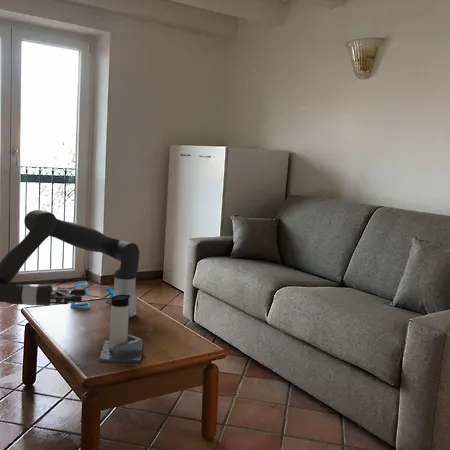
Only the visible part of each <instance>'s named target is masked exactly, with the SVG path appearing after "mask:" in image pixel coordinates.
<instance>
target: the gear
mask: <svg viewBox="0 0 450 450" xmlns="http://www.w3.org/2000/svg"><path fill="white" fill-rule="evenodd" d="M105 290H106V292H107V294H108V295H110V296H109V297H108V298H107V299H106V300H105V303H108V302H110V301H111V300H112V297H113V296H114V288H113V289H112V288H111V287H110V286H107V287H106V289H105Z"/></svg>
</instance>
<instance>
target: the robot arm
mask: <svg viewBox="0 0 450 450" xmlns="http://www.w3.org/2000/svg"><path fill="white" fill-rule="evenodd" d="M23 223H24V227H25V228H26V229H27V230H28V231H29V232H28V233H27V234H26V236H25V237H24V238H23V239H22V240H21V241H20V242H19V243H18V244H17V245H15V246H14V247H13V248H12V249H11V250H9V251H8V253H6V254H5V256H4V257H3V258H2V259H1V261H0V303H6V304H9V305H24V306H25V305H26V306H48V307H49V306H51V305H68V304H71V302H75V303H82V301H83V298H82V297H84V296H86V295H85V289H84V288H83V289H81V288H80V289H78V288H76V289H74V287H73V286H72V287H71V286H61V287H60V286H58V287H56V288H57V289H53V286H52V285H51V284H41V283H40V284H37V283H36V284H35V283H34V284H32V283H30V284H11V282H12V280H13V279H14V278H15V277H16V275H17V274H18V272H20V269H22V267H23V266H24V264H25V263H26V261H28V259H29V258H30V257H31V256H32V254H34V252H35V251H36V250H38V248H39V247H40V246H41V245H42V244H43V242H45V240H46V239H48V238H49V237H52V238H54V239H57V240H60V241H62V242H64V243H66V244H69V245H71V246H74V247H76V248H79V249H82V250H85V251H89V252H92V253H93V252H94V253H95V252H96V253H102V254H104V255H106V256H109V257H111V258H113V259H115V260H117V261H119V262H120V267H119V269H115V271H114V278H113V279H114V281H113V282H114V283H113V284H114V285H113V290H114V291H113V292H114V296H116V295H130V297H129V315H128V319H130V318H132V317H134V316H137V299H138V298H137V297H138V295H137V293H136V282H137V281H136V280H137V279H136V278H137V273H138V270H139V262H140V249H139V246H138V245H137V243H135V242H133V241H132V242H131V241H128V240H124V239H117V238H113V237H110V236H107V235H106V234H104V233H102V232H100V231H99V230H97V229H94V228H92V227H90V226H87V225H84V224H79V223H75V222H71V221H66V220H61V219H59V218H57V217H56V216H55V214H54V213H52V212H50V211H46V210H42V209H36V210H35V209H34V210H31V211H28V213H27V214H26V215H25V217H24V221H23ZM74 295H75V296H74Z"/></svg>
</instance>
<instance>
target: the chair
mask: <svg viewBox="0 0 450 450" xmlns="http://www.w3.org/2000/svg"><path fill="white" fill-rule="evenodd" d="M72 284H73V286H72V287H74V289H78V288H79V287H82V288H84V290H85V295H84V296H89V292H88V285H89V284H88V281H86V280H79V281H77V282H73V283H72ZM74 296H75V295H74ZM69 308H70V309H83V310H84V309H85V310H89V309H90V303H89V302H70V307H69Z"/></svg>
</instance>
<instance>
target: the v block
mask: <svg viewBox="0 0 450 450" xmlns="http://www.w3.org/2000/svg"><path fill="white" fill-rule="evenodd" d="M143 341H144V340H143V338H140V337H138V336H134V335H133V334H129V333H128V337H127V342H126V343H123V344H120V345H116V346H113V352H112V351H110V350H109V345H110V340H104V342H103V346H102V348H101V352H100V355H99V357H98V362H103V363H105V362H107V363H141V361H142V360H141V359H142V352H143V343H144V342H143Z"/></svg>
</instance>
